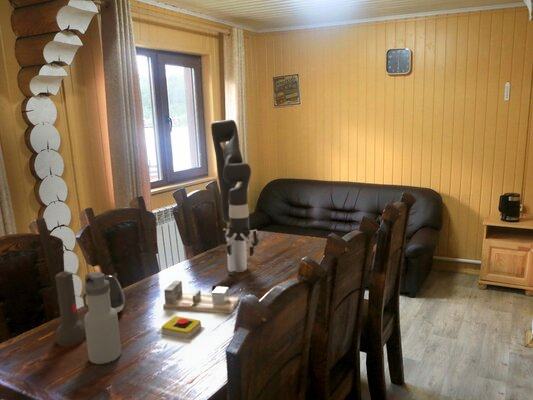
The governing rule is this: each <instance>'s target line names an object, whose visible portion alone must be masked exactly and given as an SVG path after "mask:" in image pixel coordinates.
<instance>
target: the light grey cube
mask: <svg viewBox="0 0 533 400" xmlns="http://www.w3.org/2000/svg"><path fill="white" fill-rule="evenodd" d="M211 295H212V302H213V304H215V305H225V304H226V303H227V301H228V300H229V296H230V289H229V287H228V286H227V287H216V288H215V289H214V291H213V292H211Z"/></svg>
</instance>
